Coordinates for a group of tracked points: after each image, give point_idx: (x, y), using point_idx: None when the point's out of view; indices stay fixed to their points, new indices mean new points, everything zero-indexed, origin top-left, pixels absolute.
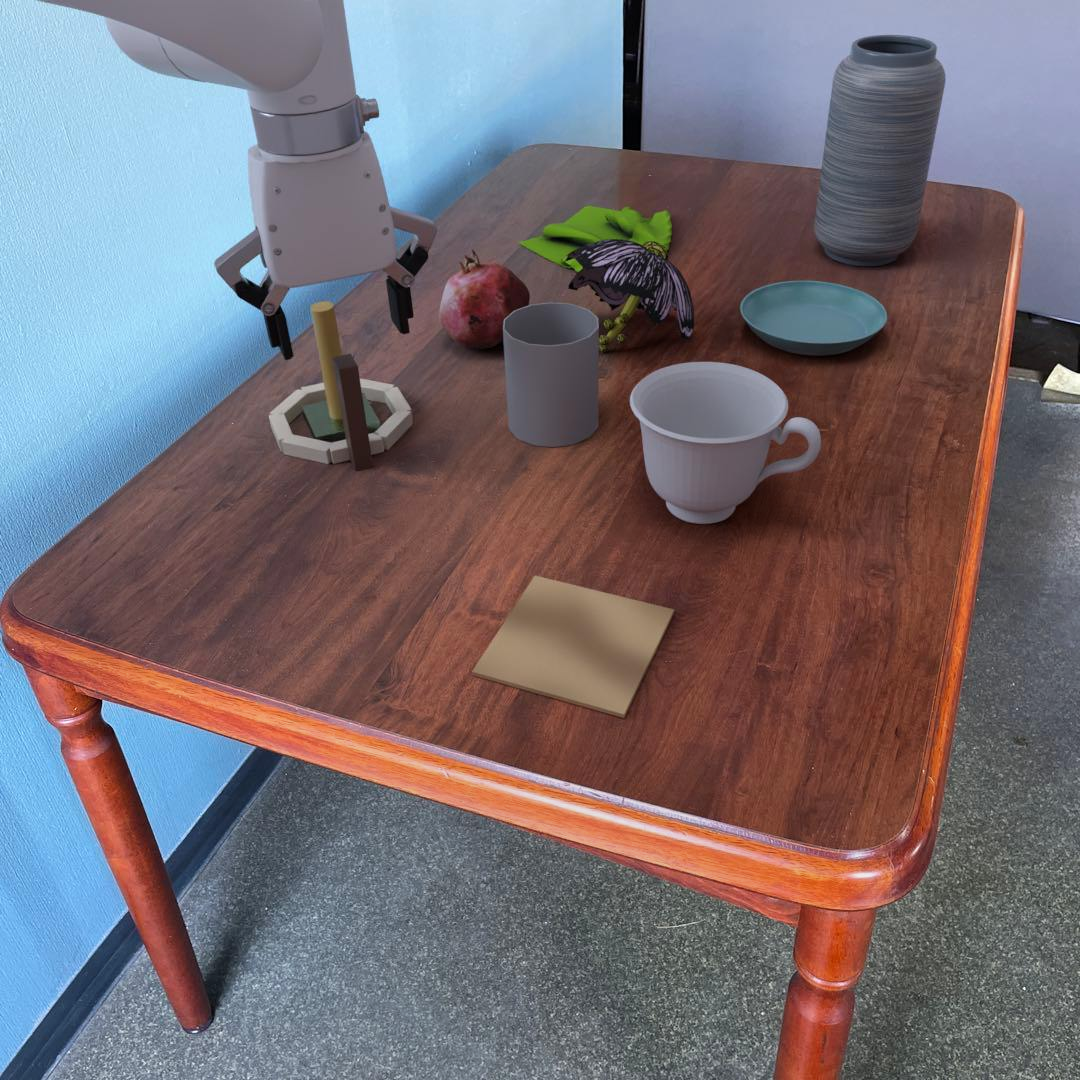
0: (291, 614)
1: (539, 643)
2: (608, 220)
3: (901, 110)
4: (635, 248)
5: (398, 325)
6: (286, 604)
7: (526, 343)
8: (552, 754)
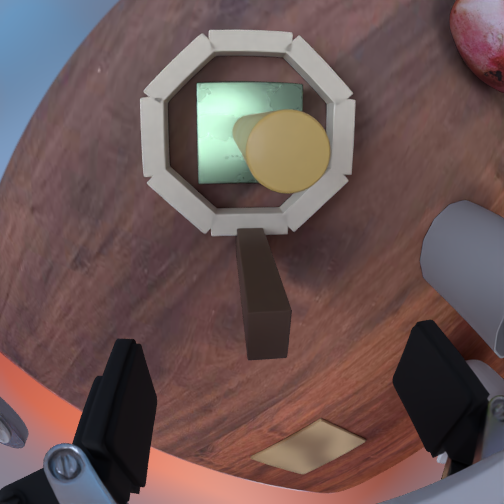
0: None
1: (292, 452)
2: None
3: None
4: None
5: (400, 382)
6: None
7: (494, 348)
8: (265, 478)
